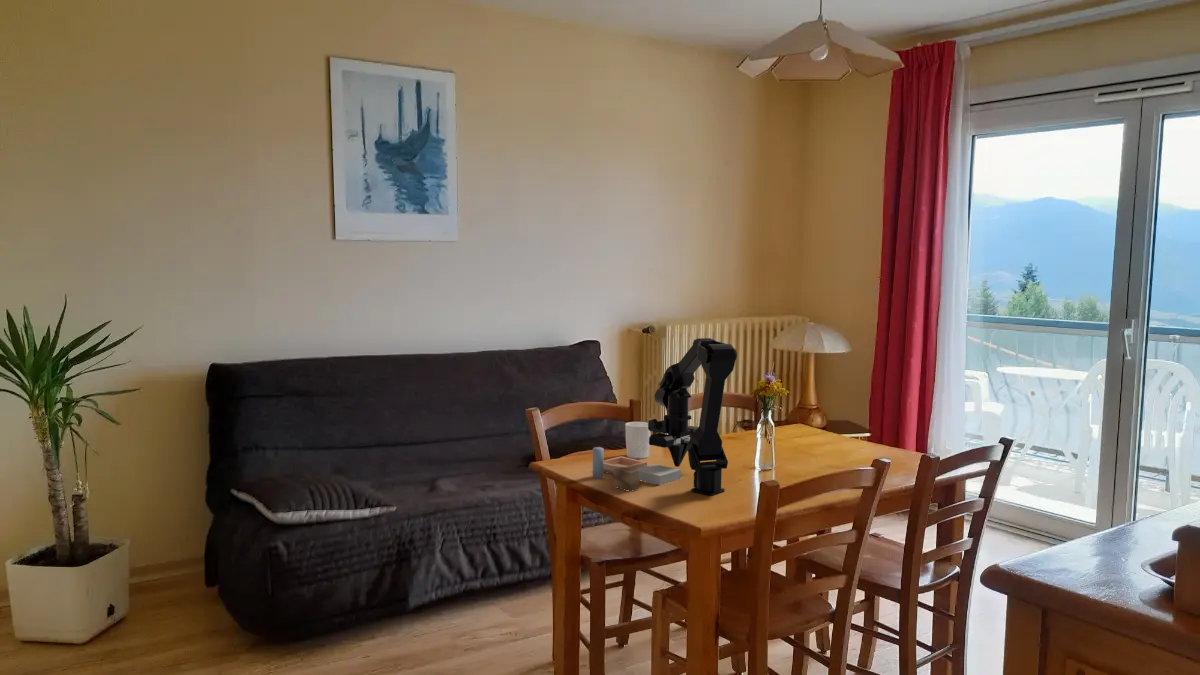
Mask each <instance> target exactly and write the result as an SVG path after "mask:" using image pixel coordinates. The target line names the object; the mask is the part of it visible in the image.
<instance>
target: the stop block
mask: <svg viewBox="0 0 1200 675" xmlns="http://www.w3.org/2000/svg"><path fill="white" fill-rule="evenodd" d="M615 487H618V488H617V489H619V488H622V489H625V490H624V491H626V490H629V491H628V492H630V491H631V492H633V491H632V490H635V491H637V490H636V489H638V490H639V480H638V470H633V469H629V468H625V467H618V468H614V474H613V488H615ZM622 489H621V490H622Z"/></svg>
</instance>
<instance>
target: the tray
mask: <svg viewBox="0 0 1200 675" xmlns="http://www.w3.org/2000/svg"><path fill="white" fill-rule="evenodd" d="M647 466H648V462H647V461H643V460H639V459H635V458H629V457H626V456H621V455H620V456H617V457H612V458H608V459H604V471H603V473H606V472H608V473H607V474H610V473H612V474H611V475H614V468H618V467H625V468H629V469H633V470H636V469H639V468H643V467H647Z"/></svg>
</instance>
